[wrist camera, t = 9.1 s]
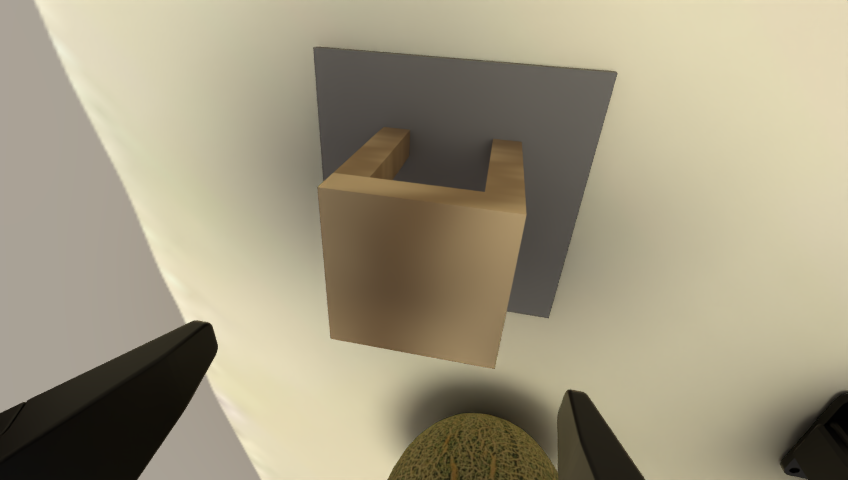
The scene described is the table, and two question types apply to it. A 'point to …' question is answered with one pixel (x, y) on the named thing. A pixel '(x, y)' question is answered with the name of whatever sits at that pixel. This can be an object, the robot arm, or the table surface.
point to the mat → (475, 136)
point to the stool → (421, 253)
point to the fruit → (474, 452)
